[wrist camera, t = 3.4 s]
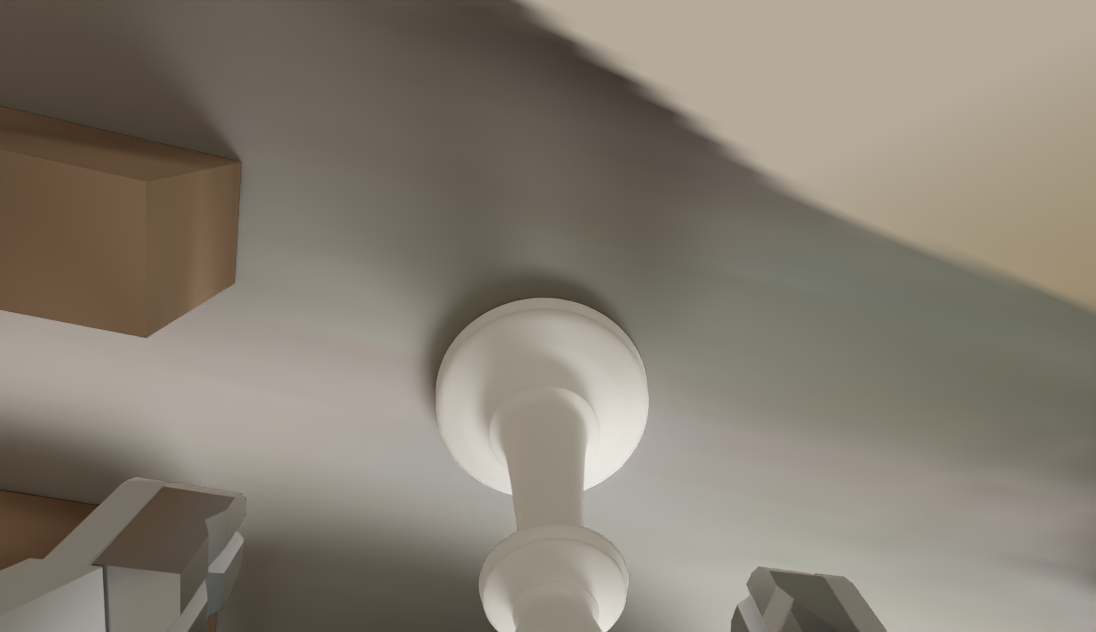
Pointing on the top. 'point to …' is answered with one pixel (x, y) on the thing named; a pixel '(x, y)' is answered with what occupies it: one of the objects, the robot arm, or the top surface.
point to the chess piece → (545, 453)
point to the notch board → (104, 255)
